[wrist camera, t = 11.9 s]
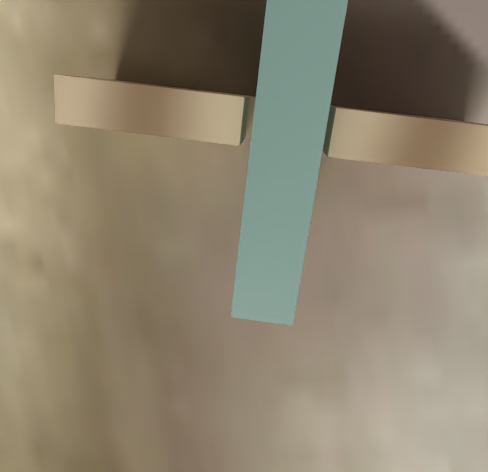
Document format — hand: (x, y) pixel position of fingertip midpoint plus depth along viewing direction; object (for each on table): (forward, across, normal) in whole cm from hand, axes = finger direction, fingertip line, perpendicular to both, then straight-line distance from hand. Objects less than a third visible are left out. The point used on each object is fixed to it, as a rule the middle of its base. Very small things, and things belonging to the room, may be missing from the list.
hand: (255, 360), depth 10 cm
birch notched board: (+17, 0, +5) cm, 18 cm away
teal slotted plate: (+17, 0, +5) cm, 18 cm away
